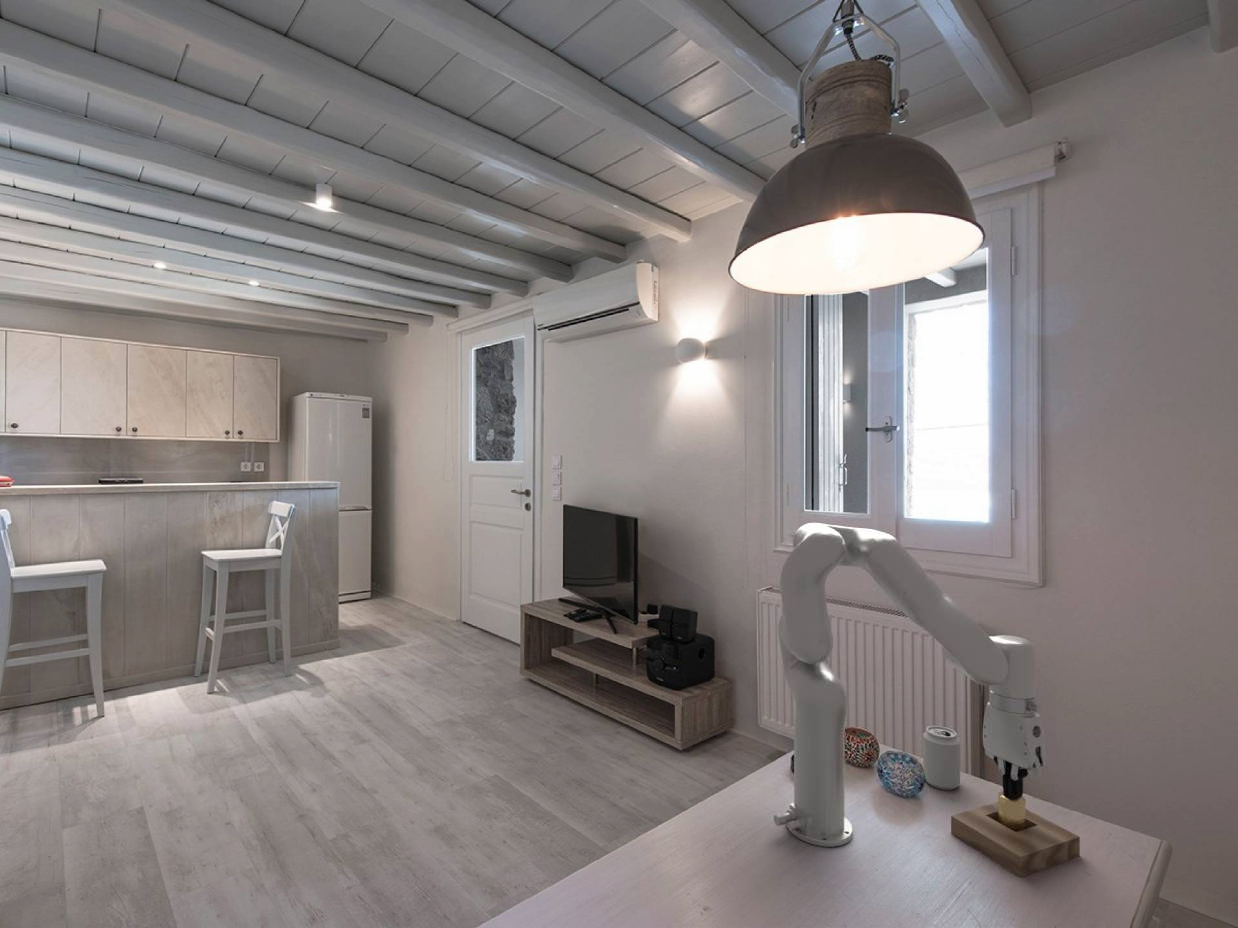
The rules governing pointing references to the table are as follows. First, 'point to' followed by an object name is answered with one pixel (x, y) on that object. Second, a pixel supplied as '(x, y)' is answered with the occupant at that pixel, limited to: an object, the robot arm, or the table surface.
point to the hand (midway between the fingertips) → (1012, 796)
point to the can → (941, 757)
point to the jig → (1016, 840)
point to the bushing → (1011, 812)
